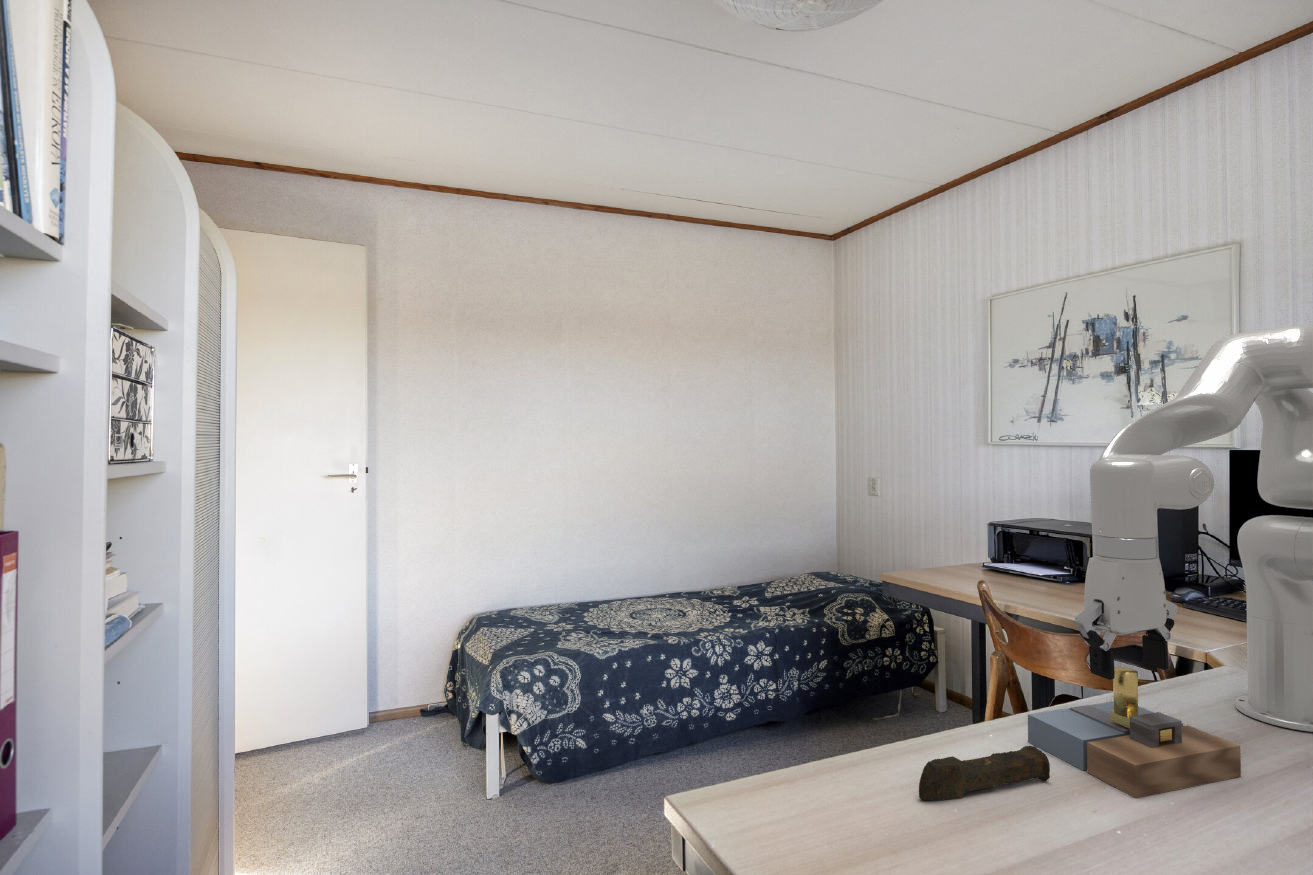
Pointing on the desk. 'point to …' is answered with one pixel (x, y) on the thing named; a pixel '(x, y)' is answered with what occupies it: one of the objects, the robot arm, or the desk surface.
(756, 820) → the desk surface
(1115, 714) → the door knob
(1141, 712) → the door leaf
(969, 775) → the hand tool
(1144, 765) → the door jamb
